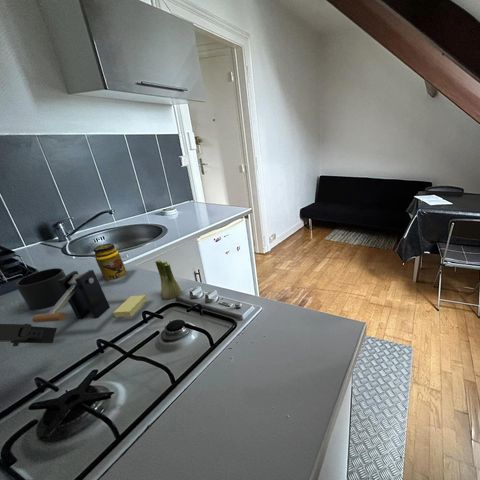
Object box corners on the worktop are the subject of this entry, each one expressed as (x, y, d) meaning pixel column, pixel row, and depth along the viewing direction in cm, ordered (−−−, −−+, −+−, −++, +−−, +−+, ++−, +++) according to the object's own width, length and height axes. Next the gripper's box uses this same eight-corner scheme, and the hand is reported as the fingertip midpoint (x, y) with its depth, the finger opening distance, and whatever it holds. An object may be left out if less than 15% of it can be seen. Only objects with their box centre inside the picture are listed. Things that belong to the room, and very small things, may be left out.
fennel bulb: (183, 301, 72) (171, 262, 68) (163, 307, 70) (150, 268, 65) (181, 291, 77) (170, 255, 72) (163, 297, 75) (149, 260, 70)
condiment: (123, 283, 84) (109, 249, 79) (93, 287, 82) (77, 253, 77) (133, 272, 90) (121, 240, 85) (105, 276, 89) (91, 244, 84)
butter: (133, 320, 66) (129, 311, 64) (117, 322, 66) (112, 312, 64) (148, 303, 72) (145, 294, 71) (134, 304, 72) (130, 295, 71)
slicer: (96, 332, 62) (74, 287, 57) (58, 335, 62) (32, 290, 57) (128, 302, 73) (112, 262, 68) (96, 304, 73) (77, 264, 68)
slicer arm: (63, 323, 56) (55, 317, 55) (37, 324, 56) (29, 318, 55) (96, 279, 65) (90, 273, 64) (74, 280, 65) (68, 274, 64)
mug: (78, 287, 83) (65, 261, 79) (74, 304, 74) (60, 276, 71) (37, 298, 78) (21, 272, 74) (28, 319, 69) (10, 290, 65)
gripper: (-58, 293, 32) (87, 313, 51) (-270, 308, 31) (-42, 322, 51) (-90, 360, 29) (77, 354, 49) (-323, 378, 29) (-60, 364, 48)
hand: (16, 338), depth 50 cm, fingers open, 13 cm apart
